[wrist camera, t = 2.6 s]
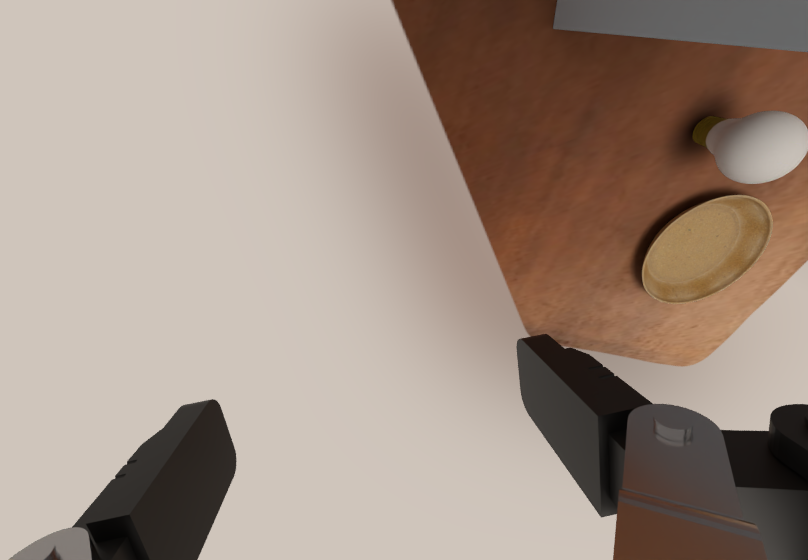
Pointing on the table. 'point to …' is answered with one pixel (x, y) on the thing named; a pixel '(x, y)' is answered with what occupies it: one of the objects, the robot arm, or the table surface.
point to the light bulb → (754, 145)
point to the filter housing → (693, 20)
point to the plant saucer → (706, 248)
